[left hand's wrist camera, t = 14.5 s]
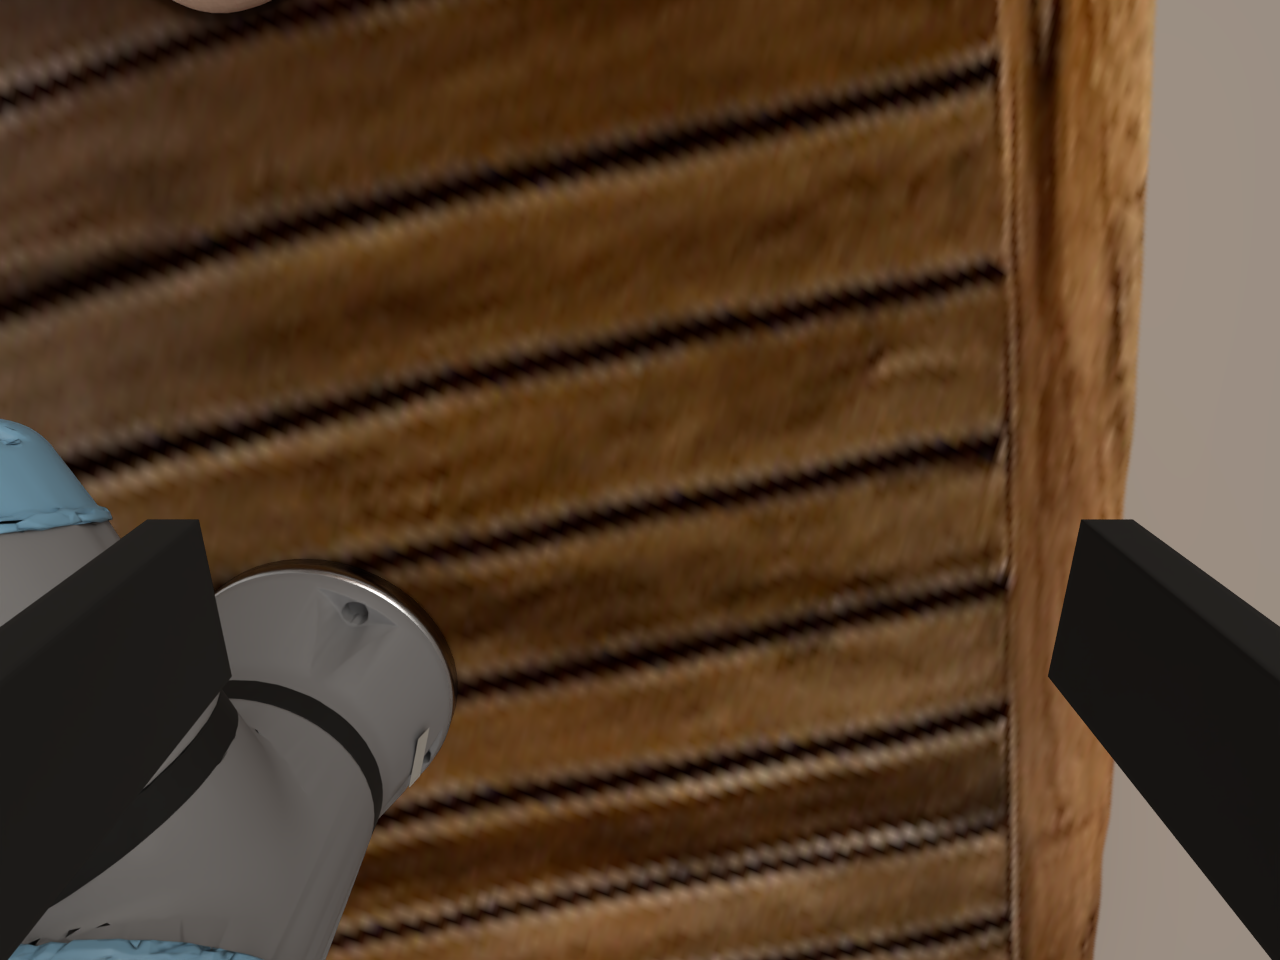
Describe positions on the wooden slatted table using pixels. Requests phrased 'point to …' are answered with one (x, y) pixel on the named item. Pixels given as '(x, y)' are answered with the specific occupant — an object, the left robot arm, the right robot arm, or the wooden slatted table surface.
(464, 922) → the wooden slatted table surface
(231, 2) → the anatomical model
